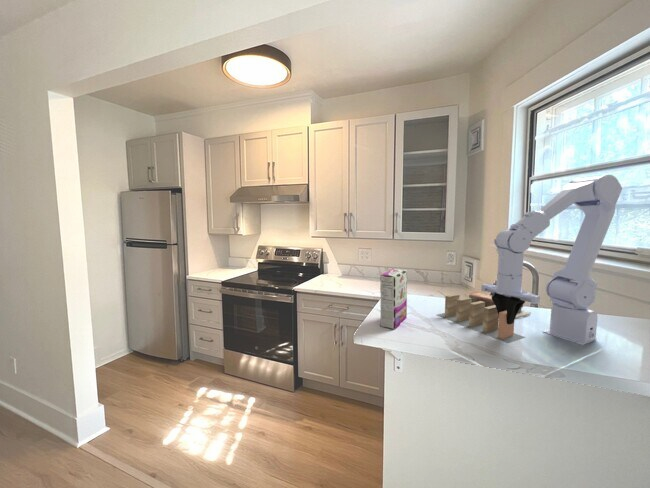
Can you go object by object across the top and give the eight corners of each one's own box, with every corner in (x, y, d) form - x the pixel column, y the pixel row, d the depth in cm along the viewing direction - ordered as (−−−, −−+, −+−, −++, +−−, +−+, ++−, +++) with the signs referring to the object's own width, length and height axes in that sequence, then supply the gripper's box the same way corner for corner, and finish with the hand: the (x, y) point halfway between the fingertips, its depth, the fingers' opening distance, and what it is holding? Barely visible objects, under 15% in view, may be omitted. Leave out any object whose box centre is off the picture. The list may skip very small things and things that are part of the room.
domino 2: (470, 319, 93) (471, 298, 92) (460, 322, 91) (461, 300, 90) (466, 318, 94) (467, 297, 94) (456, 320, 92) (457, 299, 91)
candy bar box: (392, 315, 98) (393, 268, 96) (406, 318, 95) (408, 269, 94) (379, 326, 89) (379, 274, 87) (394, 330, 86) (395, 276, 84)
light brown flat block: (498, 329, 85) (499, 306, 84) (487, 332, 83) (488, 308, 82) (493, 327, 86) (494, 304, 86) (482, 330, 84) (483, 307, 83)
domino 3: (483, 324, 89) (484, 302, 88) (472, 327, 87) (474, 304, 86) (479, 322, 90) (480, 300, 90) (468, 325, 88) (469, 303, 87)
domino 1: (458, 315, 97) (459, 294, 96) (448, 317, 95) (449, 296, 94) (455, 313, 98) (455, 293, 98) (444, 316, 96) (445, 295, 95)
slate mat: (525, 338, 80) (525, 337, 80) (507, 344, 76) (507, 343, 76) (452, 312, 101) (452, 311, 101) (435, 316, 98) (435, 314, 98)
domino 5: (513, 335, 81) (514, 310, 80) (502, 338, 79) (504, 313, 78) (508, 333, 82) (509, 309, 82) (497, 336, 80) (499, 312, 79)
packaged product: (464, 294, 108) (480, 290, 113) (464, 306, 109) (479, 302, 114) (516, 307, 93) (532, 302, 98) (515, 321, 93) (531, 316, 98)
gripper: (475, 270, 83) (473, 316, 85) (529, 281, 71) (525, 334, 72) (491, 268, 87) (488, 312, 88) (545, 278, 74) (541, 329, 75)
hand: (506, 322), depth 80 cm, fingers closed on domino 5
